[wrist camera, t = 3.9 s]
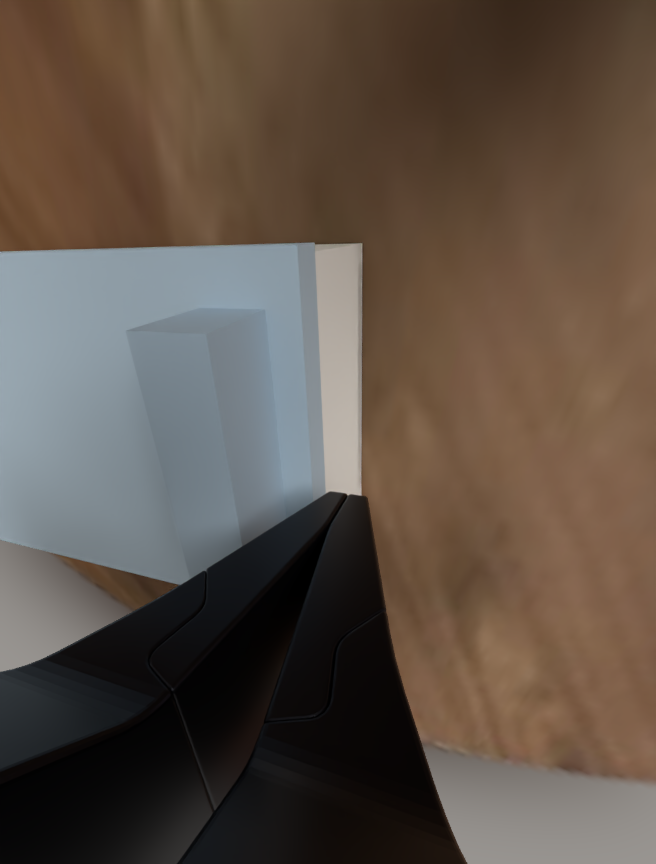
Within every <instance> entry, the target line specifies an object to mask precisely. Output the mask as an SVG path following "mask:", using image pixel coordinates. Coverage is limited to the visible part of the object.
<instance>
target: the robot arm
mask: <svg viewBox="0 0 656 864" xmlns="http://www.w3.org/2000/svg"><path fill="white" fill-rule="evenodd" d="M0 864H467V862H466V860H465V858H464V856H463V854H462V852H461V850H460V849H459V846H458V844H457V842H456V839H455V837H454V835H453V832H452V830H451V827H450V825H449V822H448V820H447V817H446V815H445V812H444V809H443V807H442V804H441V801H440V798H439V795H438V792H437V790H436V787H435V784H434V781H433V778H432V775H431V772H430V768H429V765H428V762H427V759H426V756H425V753H424V750H423V747H422V743H421V740H420V737H419V734H418V731H417V728H416V725H415V722H414V719H413V715H412V712H411V709H410V706H409V703H408V700H407V697H406V694H405V690H404V687H403V683H402V680H401V676H400V673H399V669H398V666H397V662H396V658H395V654H394V649H393V644H392V639H391V634H390V629H389V623H388V616H387V613H386V606H385V600H384V594H383V588H382V582H381V575H380V569H379V563H378V557H377V551H376V545H375V539H374V533H373V527H372V521H371V515H370V509H369V503H368V498H367V497H366V496H361V495H354V494H350V495H347V494H346V493H341V492H334V491H330V492H327V493H326V494H324V495H323V496H321V497H319V498H318V499H316V500H315V501H313V502H312V503H310V504H308V505H307V506H305V507H304V508H302V509H300V510H299V511H297V512H296V513H294V514H292V515H291V516H289V517H288V518H286V519H285V520H283V521H281V522H280V523H278V524H277V525H275V526H273V527H272V528H270V529H269V530H267V531H265V532H264V533H262V534H261V535H259V536H258V537H256V538H254V539H253V540H251V541H250V542H248V543H246V544H245V545H243V546H242V547H240V548H239V549H237V550H235V551H234V552H232V553H231V554H229V555H227V556H226V557H224V558H223V559H221V560H219V561H218V562H216V563H215V564H213V565H212V566H210V567H208V568H207V570H206V571H202V572H200V573H199V574H197V575H195V576H194V577H192V578H191V579H189V580H187V581H186V582H184V583H182V584H181V585H179V586H177V587H176V588H174V589H172V590H171V591H169V592H167V593H166V594H164V595H162V596H161V597H159V598H157V599H155V600H154V601H152V602H150V603H148V604H146V605H144V606H143V607H141V608H139V609H137V610H135V611H133V612H132V613H130V614H128V615H126V616H124V617H122V618H120V619H118V620H116V621H115V622H113V623H111V624H109V625H107V626H105V627H103V628H101V629H99V630H97V631H96V632H94V633H92V634H90V635H88V636H86V637H84V638H82V639H80V640H78V641H77V642H75V643H73V644H71V645H69V646H67V647H65V648H63V649H61V650H60V651H58V652H55V653H53V654H51V655H49V656H47V657H45V658H43V659H41V660H39V661H36V662H33V663H31V664H28V665H25V666H22V667H19V668H16V669H12V670H7V671H3V672H0Z"/></svg>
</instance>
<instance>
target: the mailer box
mask: <svg viewBox="0 0 656 864" xmlns="http://www.w3.org/2000/svg"><path fill="white" fill-rule="evenodd" d="M315 264H316V286H317V309H318V331H319V354H320V376H321V398H322V421H323V443H324V466H325V488H326V493H327V492H330V491H334V492H341V493H346V494H347V495H350V494H354V495H361V457H362V243H350V244H315Z"/></svg>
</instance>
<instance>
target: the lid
mask: <svg viewBox="0 0 656 864" xmlns="http://www.w3.org/2000/svg"><path fill="white" fill-rule="evenodd" d="M324 494H326V488H325V466H324V443H323V421H322V398H321V376H320V354H319V331H318V309H317V286H316V264H315V242H314V243H280V244H245V245H211V246H176V247H142V248H107V249H73V250H39V251H4V252H0V540H3V541H7V542H11V543H15V544H19V545H23V546H27V547H31V548H35V549H39V550H43V551H47V552H51V553H55V554H59V555H63V556H66V557H70V558H74V559H78V560H82V561H86V562H90V563H94V564H98V565H102V566H106V567H110V568H114V569H118V570H122V571H126V572H130V573H134V574H138V575H142V576H146V577H150V578H154V579H158V580H162V581H166V582H170V583H174V584H178V585H181V584H182V583H184V582H186V581H187V580H189V579H191V578H192V577H194V576H195V575H197V574H199V573H200V572H202V571H206V570H207V568H208V567H210V566H212V565H213V564H215V563H216V562H218V561H219V560H221V559H223V558H224V557H226V556H227V555H229V554H231V553H232V552H234V551H235V550H237V549H239V548H240V547H242V546H243V545H245V544H246V543H248V542H250V541H251V540H253V539H254V538H256V537H258V536H259V535H261V534H262V533H264V532H265V531H267V530H269V529H270V528H272V527H273V526H275V525H277V524H278V523H280V522H281V521H283V520H285V519H286V518H288V517H289V516H291V515H292V514H294V513H296V512H297V511H299V510H300V509H302V508H304V507H305V506H307V505H308V504H310V503H312V502H313V501H315V500H316V499H318V498H319V497H321V496H323V495H324Z"/></svg>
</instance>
